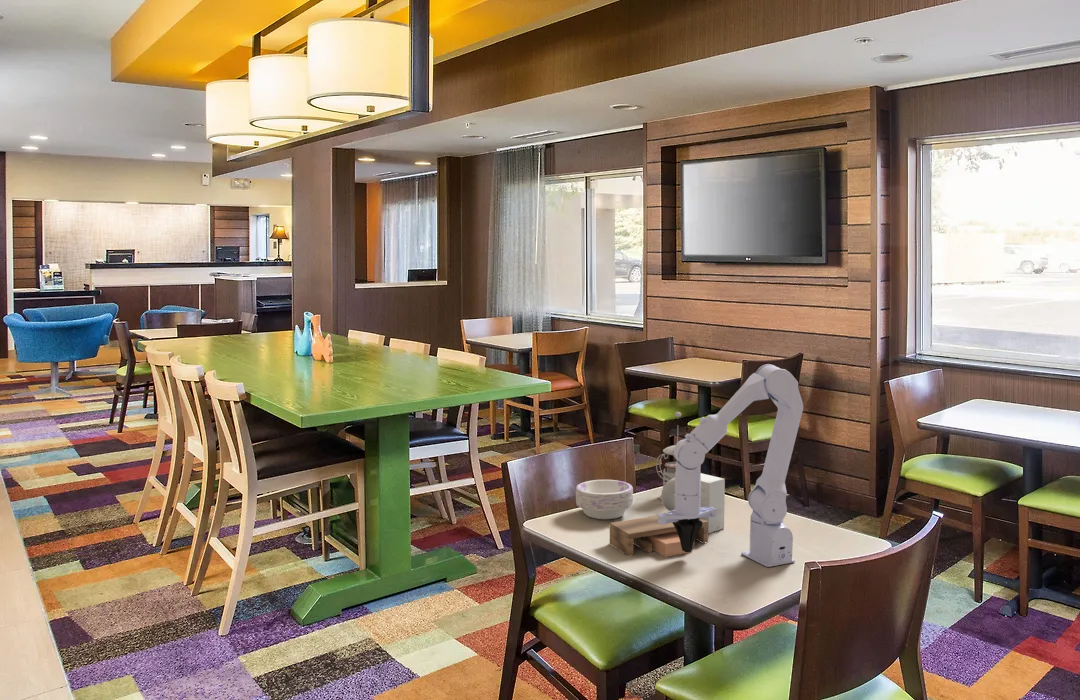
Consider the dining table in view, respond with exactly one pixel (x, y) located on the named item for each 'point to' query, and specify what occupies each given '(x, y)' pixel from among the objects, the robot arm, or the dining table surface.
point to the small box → (713, 500)
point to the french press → (671, 465)
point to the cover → (666, 543)
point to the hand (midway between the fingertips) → (686, 550)
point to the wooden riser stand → (644, 533)
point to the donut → (669, 495)
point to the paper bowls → (604, 498)
